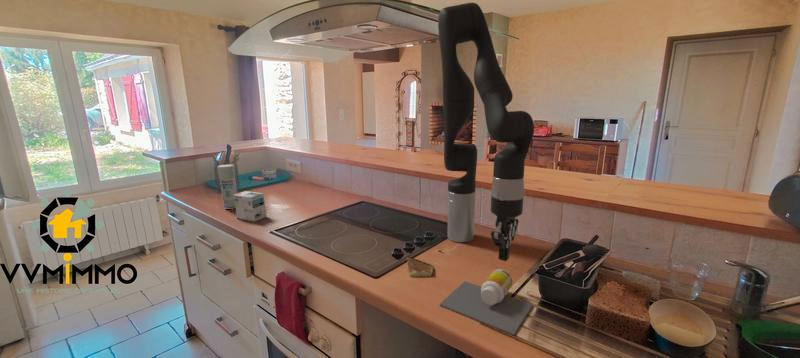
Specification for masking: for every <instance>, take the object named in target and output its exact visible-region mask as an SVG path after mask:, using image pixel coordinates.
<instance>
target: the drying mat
mask: <svg viewBox="0 0 800 358" xmlns="http://www.w3.org/2000/svg"><path fill="white" fill-rule="evenodd" d="M481 287H482V285H481V286H480V285H477V284H476V283H475V284H474V283H472V282H469V281H466V280H464V281H463V282H462V283H461V284H460V285H459V286H458V287H457V288H456V289H454V290H453V291H452V292H451V293H450V294H449V295H448V296H447V297H446V298H445V299H444V300H442V301H441V303H439V307H441V308H444V309H447V310H450V311H451V312H455V313H457V314H459V315H461V316H464V317H467V318H469V319H470V320H473V321H477V322H479V323H481V324H484V325H486V326H489V327H491V328H494V329H496V328H497V329H496V330H498V329H500V330H499V331H501V330H502V331H501V332H503V331H504V333H506V334H508V335H511V336H515V334H516V333H515V332H517V331H518V330H519V328H520V326H521V325H522V324H523V322H524V320H525V318H526V317H528V314H529V313H530V311H531V310H532V308H533V306H534V304H533V303H530V302H528V301H525V300H522V299H519V298H516V297H513V296H510V295H507V294H506V295H505V297H504V299H503V300H502V301H501V302H500V303H496V304H494V305H488V304H486V303H485V302H484V301H483V300H482V298H481Z"/></svg>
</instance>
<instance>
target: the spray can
mask: <svg viewBox="0 0 800 358" xmlns="http://www.w3.org/2000/svg"><path fill="white" fill-rule="evenodd" d="M217 172H218V177H219V184H220V189H221V191H220V192H221V197H222V204H223V208H225V209H232V210H234V209H233V208H235V201H234V194H238V188H237V180H236V175H235V174H236V173H235V167H234V164H220V165H218V166H217ZM225 209H224V210H225Z"/></svg>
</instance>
